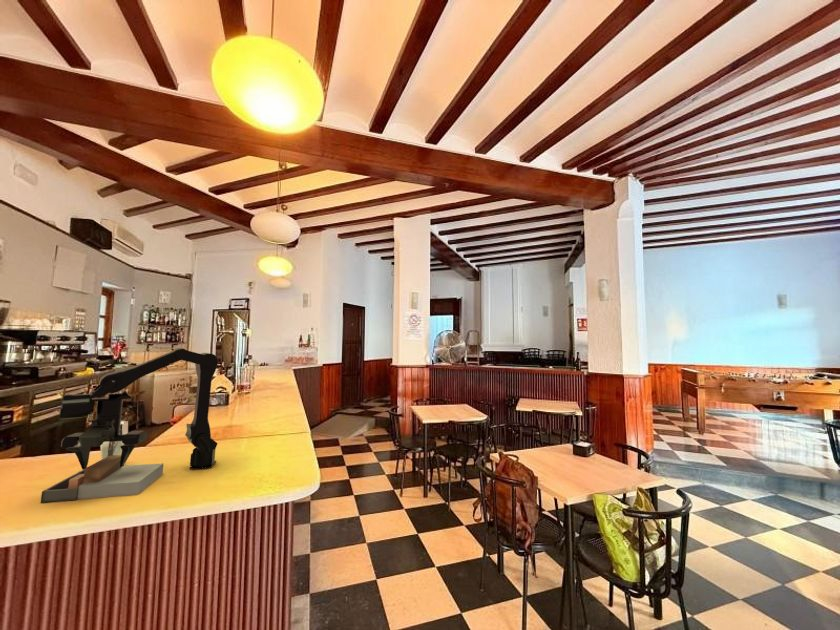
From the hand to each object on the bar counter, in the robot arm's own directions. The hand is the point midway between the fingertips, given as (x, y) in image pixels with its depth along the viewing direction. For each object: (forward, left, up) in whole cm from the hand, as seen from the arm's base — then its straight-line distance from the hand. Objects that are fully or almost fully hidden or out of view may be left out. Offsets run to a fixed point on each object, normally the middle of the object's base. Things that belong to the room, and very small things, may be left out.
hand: (103, 468), depth 99 cm
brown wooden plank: (0, 0, -2) cm, 2 cm away
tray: (+5, 0, -6) cm, 7 cm away
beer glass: (+6, -17, -6) cm, 19 cm away
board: (-6, 0, -6) cm, 8 cm away
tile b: (+3, +3, -3) cm, 5 cm away
